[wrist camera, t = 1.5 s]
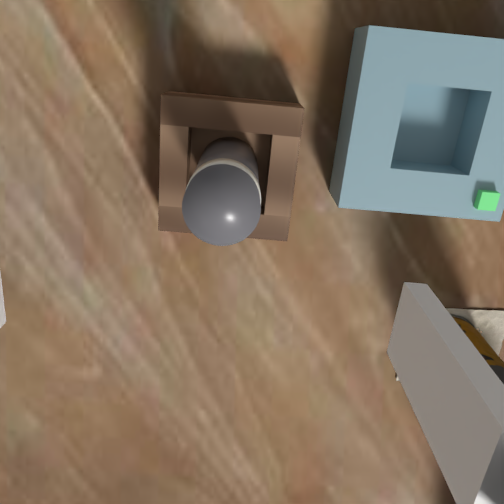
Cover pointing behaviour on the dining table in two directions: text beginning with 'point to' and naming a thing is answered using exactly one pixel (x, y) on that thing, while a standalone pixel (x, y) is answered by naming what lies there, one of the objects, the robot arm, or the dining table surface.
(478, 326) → the condiment
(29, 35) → the dining table surface
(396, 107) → the port
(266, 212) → the wooden square frame
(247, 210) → the plug
